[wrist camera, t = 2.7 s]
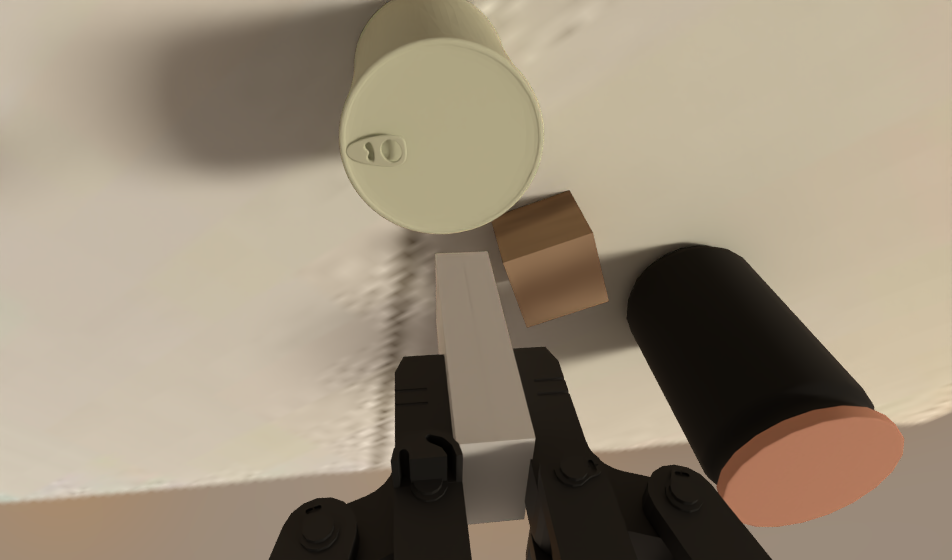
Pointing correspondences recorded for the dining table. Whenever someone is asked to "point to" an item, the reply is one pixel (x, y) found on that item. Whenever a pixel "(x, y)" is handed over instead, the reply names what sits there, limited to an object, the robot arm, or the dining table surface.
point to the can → (438, 119)
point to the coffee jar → (757, 391)
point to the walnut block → (550, 258)
